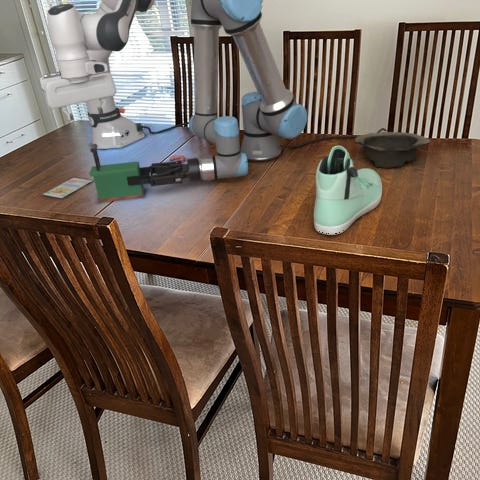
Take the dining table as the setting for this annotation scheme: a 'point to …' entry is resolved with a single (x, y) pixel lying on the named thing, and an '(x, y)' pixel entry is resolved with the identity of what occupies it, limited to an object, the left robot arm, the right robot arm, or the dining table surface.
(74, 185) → the baking ingredient package
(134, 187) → the chest
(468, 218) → the dining table surface
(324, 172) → the sneaker
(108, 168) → the lid
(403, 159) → the stone bowl
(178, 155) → the candy cane
